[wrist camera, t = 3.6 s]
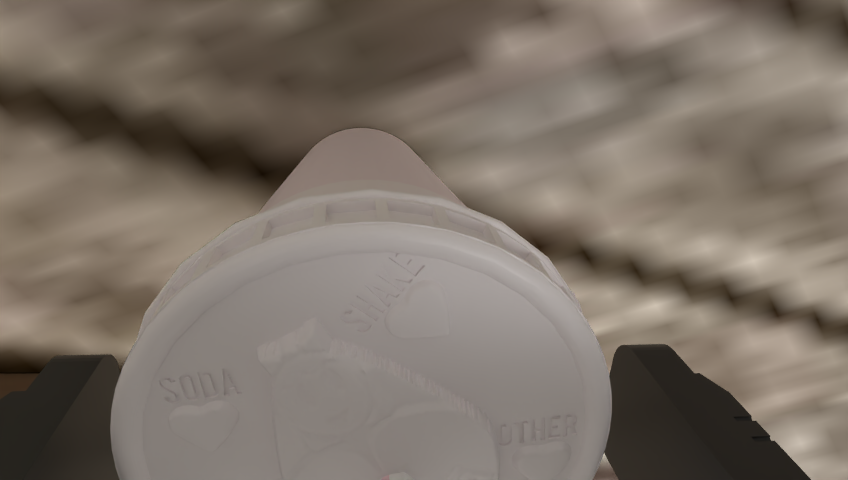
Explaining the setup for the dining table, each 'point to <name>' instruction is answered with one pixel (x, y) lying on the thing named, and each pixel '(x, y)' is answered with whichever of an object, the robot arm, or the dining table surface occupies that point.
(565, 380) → the smoothie
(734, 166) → the dining table surface
